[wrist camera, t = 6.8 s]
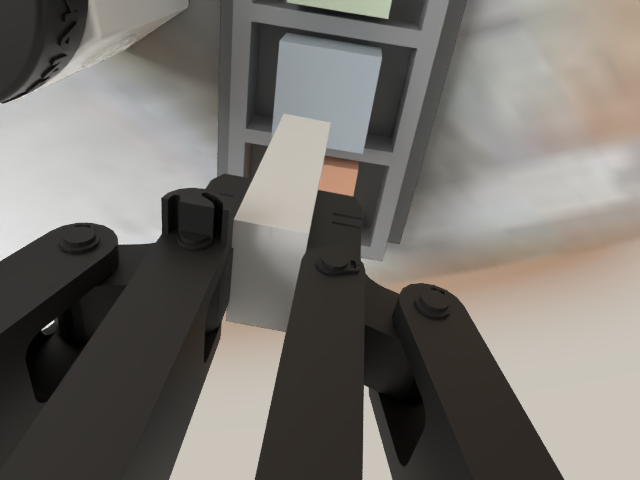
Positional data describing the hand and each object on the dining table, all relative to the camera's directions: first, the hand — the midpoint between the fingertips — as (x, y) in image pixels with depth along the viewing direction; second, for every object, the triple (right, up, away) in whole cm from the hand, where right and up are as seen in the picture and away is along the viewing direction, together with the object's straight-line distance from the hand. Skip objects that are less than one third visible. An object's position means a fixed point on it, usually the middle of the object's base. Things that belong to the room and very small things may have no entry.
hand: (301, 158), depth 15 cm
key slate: (+1, +4, +7) cm, 8 cm away
